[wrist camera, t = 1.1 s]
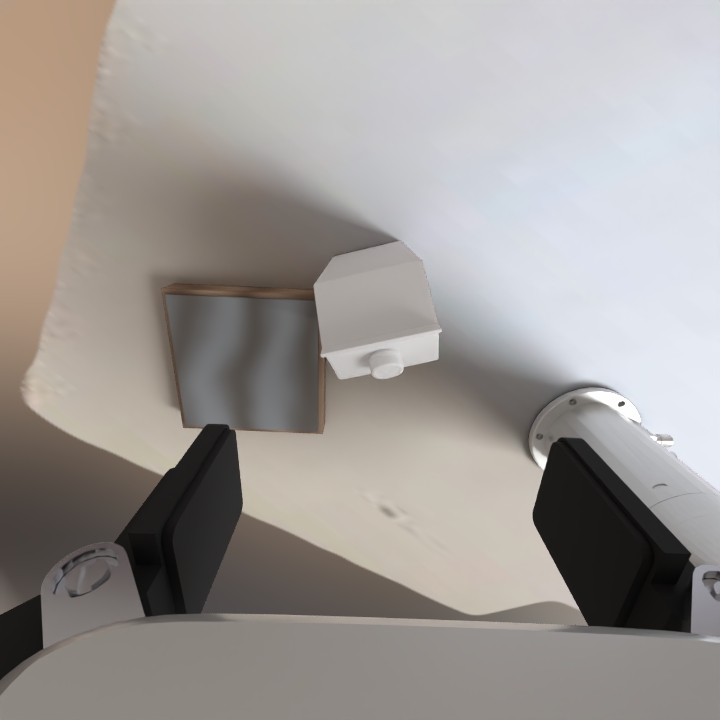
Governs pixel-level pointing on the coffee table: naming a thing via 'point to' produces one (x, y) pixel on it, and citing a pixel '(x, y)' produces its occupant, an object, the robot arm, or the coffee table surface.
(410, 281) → the milk carton
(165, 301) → the framed mirror
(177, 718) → the robot arm
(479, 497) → the coffee table surface
